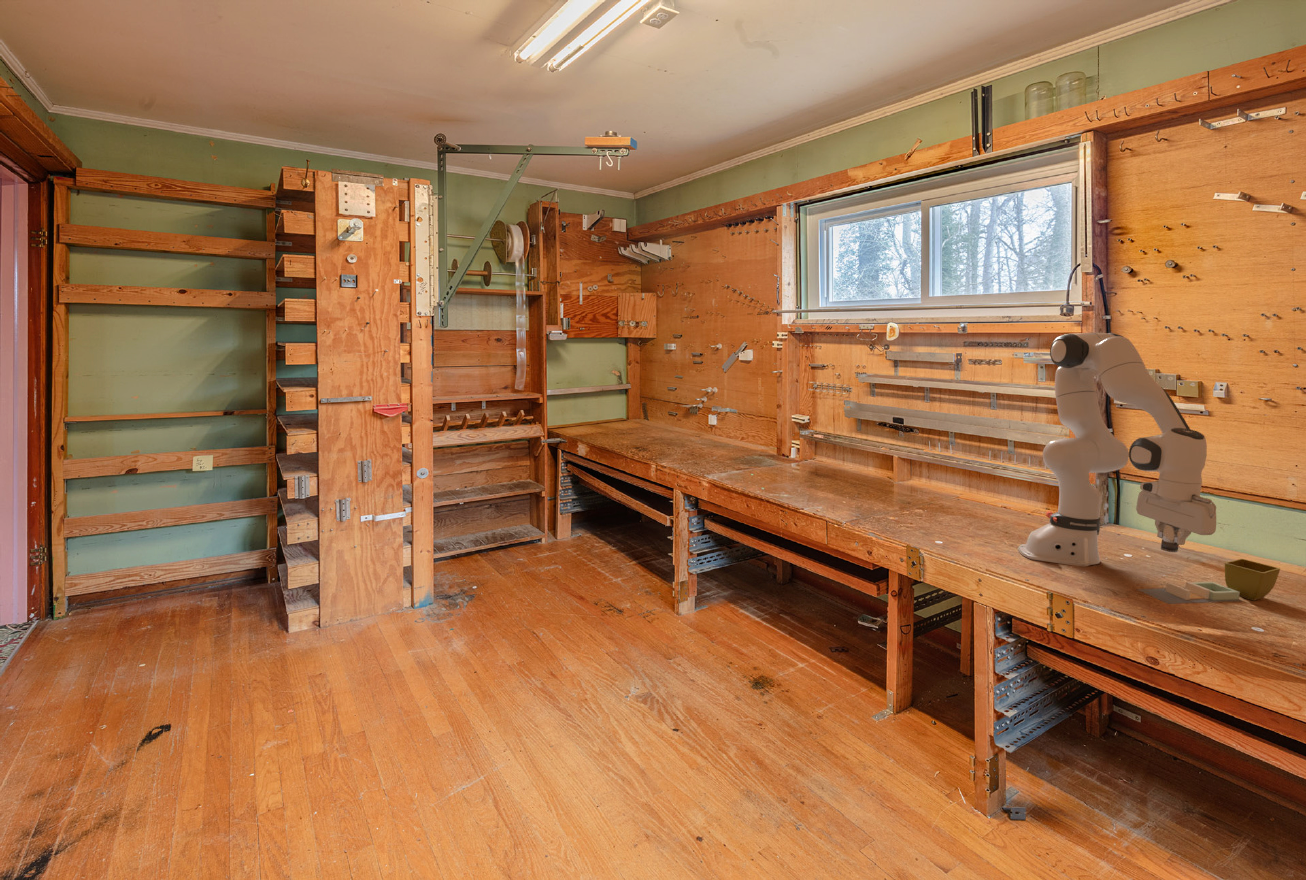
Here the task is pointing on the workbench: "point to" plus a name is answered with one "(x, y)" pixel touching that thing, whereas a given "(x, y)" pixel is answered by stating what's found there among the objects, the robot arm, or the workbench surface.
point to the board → (1174, 599)
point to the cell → (1170, 538)
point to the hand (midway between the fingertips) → (1170, 541)
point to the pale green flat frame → (1219, 591)
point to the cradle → (1188, 591)
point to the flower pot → (1250, 578)
